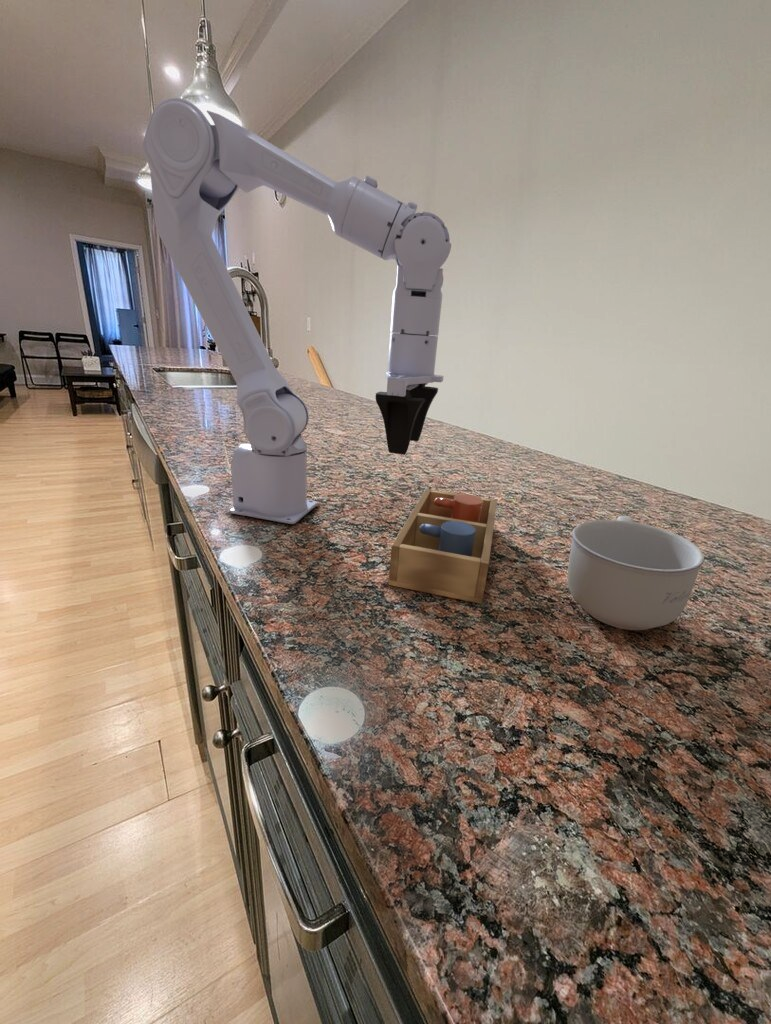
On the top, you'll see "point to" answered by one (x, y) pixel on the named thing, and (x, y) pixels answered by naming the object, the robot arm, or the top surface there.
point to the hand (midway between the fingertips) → (404, 446)
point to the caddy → (441, 553)
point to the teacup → (631, 572)
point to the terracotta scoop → (462, 507)
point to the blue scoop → (452, 536)
